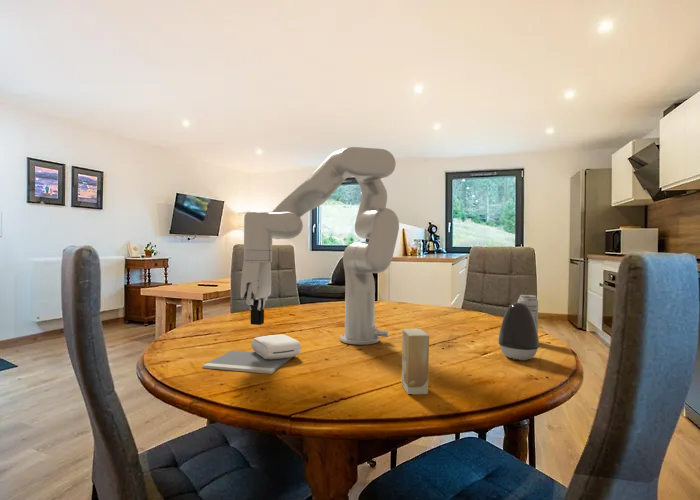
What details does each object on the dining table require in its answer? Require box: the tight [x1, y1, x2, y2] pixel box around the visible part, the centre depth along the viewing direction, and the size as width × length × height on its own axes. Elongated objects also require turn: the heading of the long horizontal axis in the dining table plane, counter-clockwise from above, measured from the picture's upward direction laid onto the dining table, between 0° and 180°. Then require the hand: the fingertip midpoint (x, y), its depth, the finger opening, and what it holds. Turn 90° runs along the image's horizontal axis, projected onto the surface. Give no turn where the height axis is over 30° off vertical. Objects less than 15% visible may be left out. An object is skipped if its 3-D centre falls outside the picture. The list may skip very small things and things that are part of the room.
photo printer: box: [251, 334, 302, 360], centre depth 102 cm, size 10×4×12 cm
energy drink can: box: [517, 294, 539, 334], centre depth 122 cm, size 6×6×15 cm
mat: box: [202, 350, 293, 375], centre depth 97 cm, size 18×14×1 cm
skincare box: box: [401, 328, 430, 395], centre depth 80 cm, size 6×4×12 cm
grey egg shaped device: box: [497, 302, 540, 361], centre depth 104 cm, size 10×10×15 cm
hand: (257, 324), depth 103 cm, fingers closed
